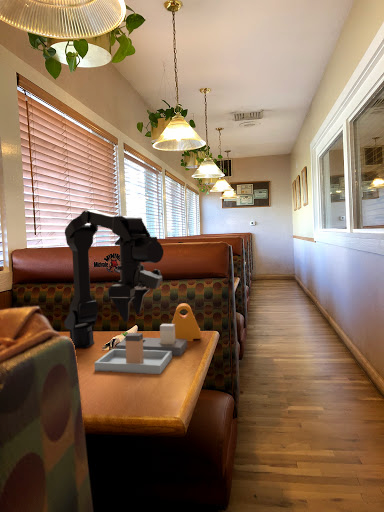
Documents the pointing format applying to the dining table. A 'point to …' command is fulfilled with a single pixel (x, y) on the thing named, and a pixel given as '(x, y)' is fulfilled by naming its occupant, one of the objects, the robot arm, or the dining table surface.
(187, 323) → the bracket
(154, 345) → the block
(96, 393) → the dining table surface
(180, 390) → the dining table surface
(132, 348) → the block
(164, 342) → the block
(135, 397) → the dining table surface
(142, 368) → the parts tray
